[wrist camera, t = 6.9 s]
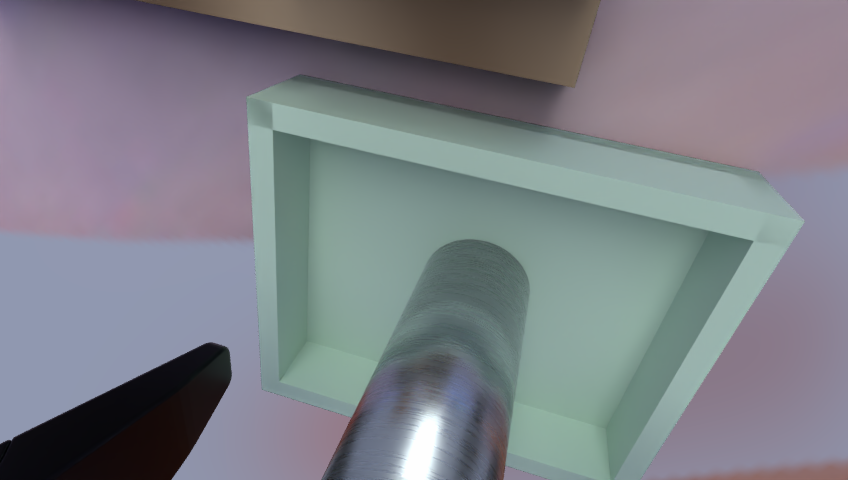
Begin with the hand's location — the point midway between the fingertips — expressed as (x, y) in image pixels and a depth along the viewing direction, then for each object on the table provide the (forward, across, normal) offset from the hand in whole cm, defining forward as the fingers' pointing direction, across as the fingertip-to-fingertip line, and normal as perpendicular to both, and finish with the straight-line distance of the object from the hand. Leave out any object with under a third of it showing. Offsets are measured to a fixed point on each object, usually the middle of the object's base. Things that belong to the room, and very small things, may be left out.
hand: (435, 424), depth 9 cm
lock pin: (+5, 0, 0) cm, 5 cm away
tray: (+6, 0, 0) cm, 6 cm away
